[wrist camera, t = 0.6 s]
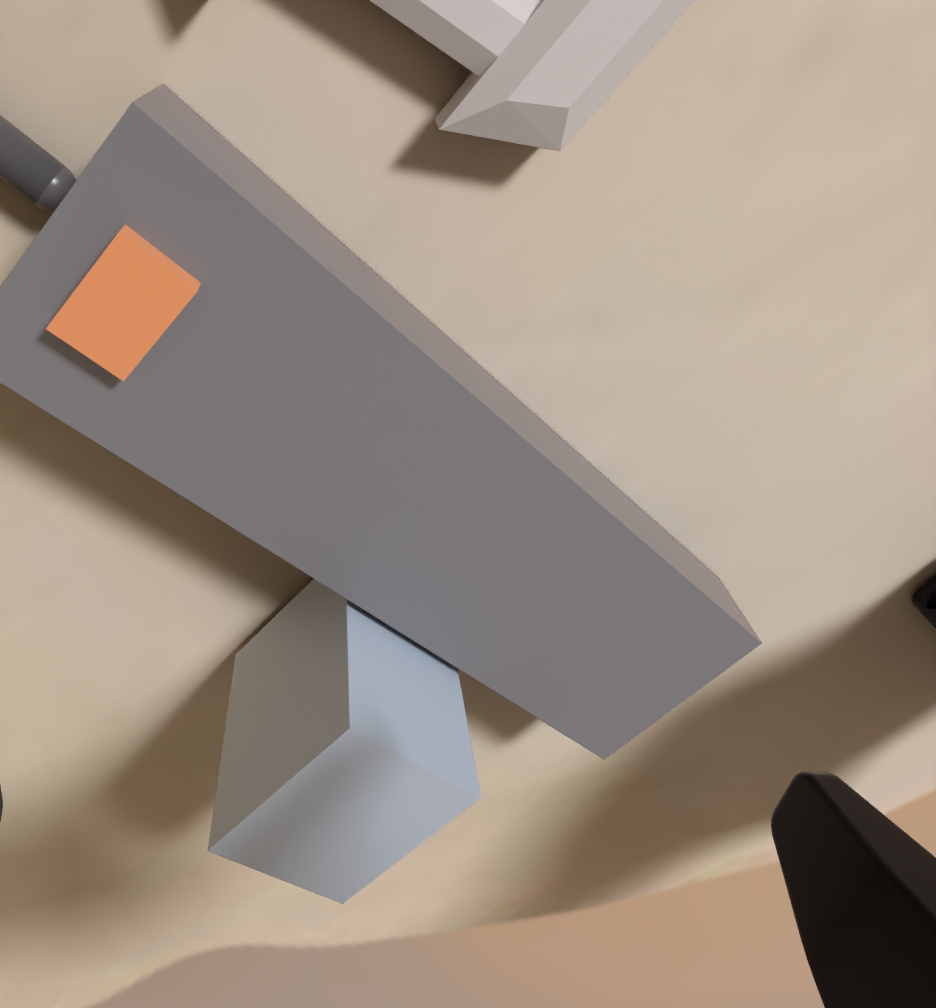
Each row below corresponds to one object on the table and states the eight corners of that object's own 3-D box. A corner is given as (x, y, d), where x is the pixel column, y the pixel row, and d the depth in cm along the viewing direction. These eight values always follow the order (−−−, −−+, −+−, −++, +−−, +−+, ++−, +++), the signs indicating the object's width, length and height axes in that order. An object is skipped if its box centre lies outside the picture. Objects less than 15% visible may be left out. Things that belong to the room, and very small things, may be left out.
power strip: (719, 578, 25) (769, 655, 22) (573, 692, 27) (602, 777, 24) (-225, -262, 13) (-389, -334, 10) (-375, 59, 15) (-549, 78, 12)
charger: (447, 616, 24) (481, 797, 19) (336, 713, 26) (338, 907, 20) (345, 548, 22) (349, 727, 17) (232, 657, 24) (203, 854, 19)
